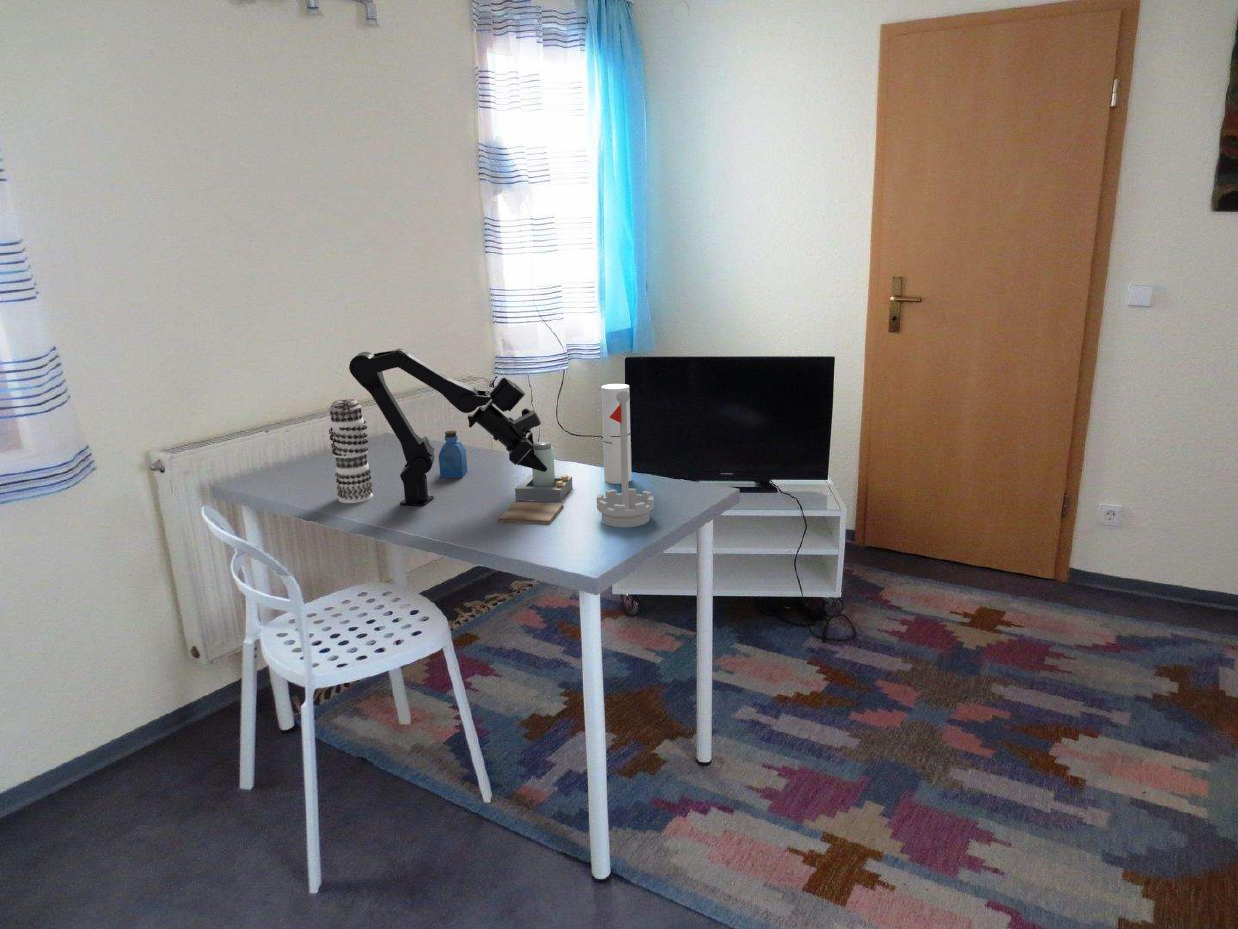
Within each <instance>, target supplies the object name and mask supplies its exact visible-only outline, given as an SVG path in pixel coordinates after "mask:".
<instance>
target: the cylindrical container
mask: <svg viewBox="0 0 1238 929" xmlns="http://www.w3.org/2000/svg"><path fill="white" fill-rule="evenodd" d="M620 390H625V391H627V392H628V393H629V400H628V401H627V402H626V412H627V452H628V483H630V482H631V481H632V447H631V446H632V442H631V438H632V437H631V408H630V407H631V404H630V401H631V398H630V397H631V396H630V395H631V394H630V385H629V384H625V383H608V384H604V385H602V386H601V408H602V409H601V412H602V413H601V414H602V417H601V418H602V439H603V440H602V443H603V447H602V448H603V475H604V482H605V481H606V482H605V483H608V484H614V485H615V484H616V485H620V484H621V485H622V479H621V443H620V423H619V422H617V421H615V420H613V419H611V418H609V417H610V416H611V415H612V413H613V412H614V411H615V410H616V409H617V407H618V406H619V402H618V401H617V399H616V394H617V393H618V391H620ZM629 481H630V482H629Z"/></svg>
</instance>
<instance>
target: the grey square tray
mask: <svg viewBox="0 0 1238 929" xmlns="http://www.w3.org/2000/svg"><path fill="white" fill-rule="evenodd" d="M572 489H573V476H569V475H555V487H533V474H528V475H527V476H526V478H524V479H523V480H522V481H521V482H520V483H519V484H518V485H517V486H515V488H514V492H515V495H514V497H515V501H528V500H534V501H533V502H536V501H537V502H553V501H554V502H555V503H556V502H557V503H558V502H559V503H561V502H562V501H563V500H564V498H566V496H567V495H568V494H569V493H570V491H571V490H572ZM568 492H569V493H568ZM562 499H563V500H562ZM554 502H553V503H554Z"/></svg>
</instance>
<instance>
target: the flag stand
mask: <svg viewBox="0 0 1238 929" xmlns="http://www.w3.org/2000/svg"><path fill="white" fill-rule="evenodd" d="M629 394H630V392H629V393H628V392H627V391H625V390H620V391H618V393H617V394H616V399H617V401H618V402H619V406H618V407H617V409H616V410H615V411H614V412H613V413H612V415H611V416H610V417H609V418H611V419H613V420H615V421H617V422H619V423H620V443H621V479H622V484H621V493H620V492H619V493H617V491H618V490H616V489H614V488H613V489H608V490H606V491H605V495H604V494H603V493H602V494H601V493H600V494H597V496H596V509H597V511H598V512H599V513H601V522H602V521H603V522H604V523H603V522H602V523H603V524H605V525H607V526H609V527H613V528H614V527H615V528H635V527H639V526H643V525H645V524H647V523H648V522H650V519H651V517H650V515H651V511H653V509H655V508H654V507H655V497H654V496H652V492H650V491H647V490H643V491H641V493H637V488H631V487H629V482H628V452H627V412H626V402H627V401H628V400H629Z"/></svg>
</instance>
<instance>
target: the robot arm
mask: <svg viewBox="0 0 1238 929" xmlns="http://www.w3.org/2000/svg"><path fill="white" fill-rule="evenodd" d="M396 368H398V369H400V370H402V371H404V372H405V373H407V374H409V375H410V376H412V377H413V378H415V379H417V380H419V381H421V382H422V383H424V384H425V385H427V386H428V387H430V388H432V389H433V390H435V391H437V392H439V393H440V394H441V396H443V397H444V398H445V399H446V400H447V401H448V402H449V404H451V405H452V406H453V407H454V408H455V409H456V410H458V411H460V412H461V413H463V414H468V415H467V420H468V428H473V426H474V425H475V424H476V423H477V424H478V425H479V426H480V427H481V428H483V429H484V430H486V432H488V433H489V435H491V436H492V438H493V440H494V441H496V442H499V443H500V444H502V446H504V447H505V450H506V451H507V452H508V460H509V462H511V463H512V464H513V465H514V466H522V467H525V468H530V469H536V470H539V471H543V472H546V470H547V467H546V466H545V465H544V464H543V462H542V461H541V460H540V459H539V458H538V457H537V455H536V454H535V453H534V445H533V444H534V443H535V441H534V434H533V431H532V429H533V428H537V427H538V426H540V425H541V419H540V417H539V416H538V414H537V412H536V410H535V409H532V410H531V409H529V408H527V407H525V408H524V409H522V410H521V416H518V418H516V419H513V417H512V416H511V417H507V416H506V415H505V414H504V413H505V412H507V411H508V412H511V411H512V410H513V409H514V408H515V407H516V406H517V405H518V403H520V401H521V400H522V399H523V398H524V397H525V396H526V392H524V390H523V389H522V388H521V387H520V386H518V385H517V384H516V383H515V382H513V381H511V380H510V379H508V378H506V376H503V377H502V378H501V379H500V380H499V382H498V383H497V384H496V386H494V388H493V389H492V390H483V389H481V390H480V389H477V388H476V387H475V386H472V385H470V384H467V383H465V382H462V381H460V380H456V379H453V378H450V377H448V376H446V375H445V374H443V373H441V372H440V371H439V370H438V369H437V370H436V369H435V368H433V367H431V366H430V365H428V364H426V362H424V361H423V360H420V359H419V358H417V357H416V356H414V355H412V354H410V353H409V352H408V351H407V350H406V349H403V348H396V349H394V350H388V351H381V352H376V353H372V352H369V351H362V352H359V353H358V354H356V355H355V356H354V357H353V358H352V359H351V360H350V362H349V367H348V369H349V372H350V374H351V375H352V377H353V378H354V379H355V381H357V382H358V383H359V385H360V386H362V387H363V388H364V389H365V390H366V391H367V392H368V393H369V394H370V395H371V397H372V398H373V400H374V401H375V403H376V405H377V407H378V408H379V410H380V411H381V413H382V415H383V416H384V418H385V420H386V421H387V423H388V424H389V426H390V428H391V430H392V431H393V433H394V435H395V436H396V437H397V439H398V441H399V443H400V445H401V449H402V453H403V456H404V458H405V461H406V463H405V464H404V465H403V468H402V470H401V472H400V474H399V477H400V479H401V482H402V483H403V492H404V493H403V494H404V499H402V500H401V501H399V505H404V506H425V505H426V504H428V503H429V502H431V501H432V500H433V499H435V496H434V495H429V488H428V479H427V473H429V472H430V471H431V469H432V468H433V464H434V460H435V454H434V453H435V448H434V447H433V446H432V445H431V444H430V441H429V438H428V436H426V435H425V436H424V437H422V438H421V437H420V436H419V435H418V434H416V432H415V431H414V429H413V427H412V426H411V424H410V422H409V421H408V419H407V417H406V416H405V414H404V412H403V410H402V409H401V407H400V405H399V404H398V402H397V400H396V399H395V397H394V396H393V394H392V392H391V390H390V389H389V387H388V386H387V384H386V380H385V377H384V374H383V372H385V371H388V370H391V369H396ZM483 406H484V407H483ZM474 411H475V412H474ZM473 412H474V413H473ZM502 412H503V413H502ZM469 413H473V414H469Z"/></svg>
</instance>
